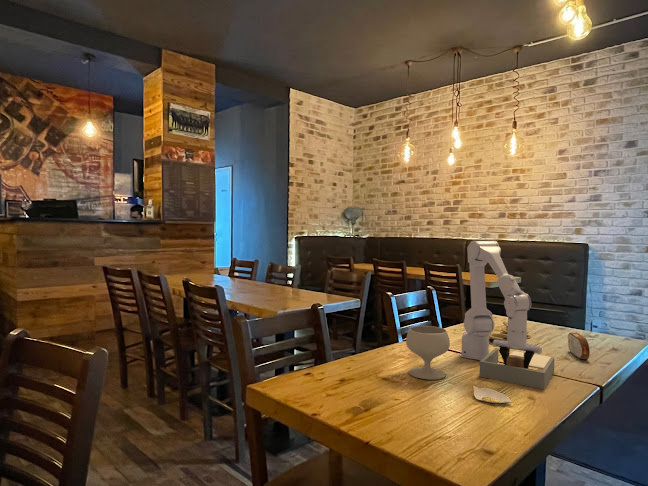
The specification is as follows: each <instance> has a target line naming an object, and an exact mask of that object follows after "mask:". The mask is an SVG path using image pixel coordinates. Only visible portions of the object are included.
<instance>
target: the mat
mask: <svg viewBox="0 0 648 486" xmlns="http://www.w3.org/2000/svg"><path fill="white" fill-rule="evenodd" d="M524 353H525V352H524V351H523V352H522V351H518V350H513V351H512V352H511V353H509V355H515V356H521V357H524ZM551 357H552V356H548V355H541V354H537V353H536V354H535V353H534V355H533V357H532V359H531V361H530V364H529V367H531V368H537V369H541V370H543V368H544V367H545V365H546V364H547V362H548V361H549V359H550V358H551Z"/></svg>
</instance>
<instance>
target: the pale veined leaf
mask: <svg viewBox="0 0 648 486" xmlns="http://www.w3.org/2000/svg"><path fill="white" fill-rule="evenodd" d="M473 395H474V397H475V399H476V400H479V401H483V402H487V403H489V401H487V400H485V399H484V400H483V398H491V399H492V400H498V401H497V402H496V401H490V403H493V404H513V403H514V402H513V401H511V399H510V398H509V397H508V396H507V395H506V394H504V393H502V392H499V391H497V390H495V389H493V388H488V387H477V386H475V385H473Z"/></svg>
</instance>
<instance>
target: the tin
mask: <svg viewBox="0 0 648 486" xmlns="http://www.w3.org/2000/svg"><path fill="white" fill-rule="evenodd" d="M567 344H568V345H567V347H568V350H569V352H570V353H571V355H573V356H575V357H576V358H577V359H578V360H589V358H590V356H591V355H590V353H591V351H590V345H589V342H588V339H587V338H586V337H585V336H583V335H582V334H580V333H579V332H569V333H568V335H567Z"/></svg>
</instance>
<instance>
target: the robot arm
mask: <svg viewBox="0 0 648 486" xmlns="http://www.w3.org/2000/svg"><path fill="white" fill-rule="evenodd" d="M501 251H502V249H501V247H500V245H499V242H498V241H496V240H472V241H470V242H469V244H468V245H467V263H468V264H469V282H470V283H469V284H470V286H469V287H470V302H471V303H470V304H471V305H470V306H471V307H470V308H469V309H468V310H467V311H466V312H464V320H463V328H464V330H465V331H464V332H463V333H462V336H461V355H460V357H461V358H466V359H471V360H478V361H481V360H482V359H483V358H484V357H486V356H487V355H488V354H489V353H490V344H489V335H491V333H493V331H494V329H495V325H496V324H495V321H494V317H493V313H492V312H491V310H489V309H488V308H487V296H486V295H487V294H486V292H487V291H486V278H485V277H486V276H485V273H486V272H485V266H486V265H488V264H489V266H490V267H491V269H492V270H493V272H494V274H495V275H496V277H497V278H498V279H497V280H496V284H497V286H498V288H499V290H500V291H501V294H502V295H503V297H504V301H503V305H504V306H503V307H504V309H505V311H506V312H505V314H506V316H507V323H508V335H507V341H501V340H494V341H493V345H492V347H494V348H497V347H498V348H499V355H500V357H501V358H502V361H503V365H507V357H508V356H509V355H510V351H511V350H514V351H521V352H522V351H523V353H524V368H525V369H529V367H530V366H529V364H530V361H531V359H532V357H533V355H534V354H535V353H536V355H541V354H542V353H543V352H542V351H543V347H542V346H539V345H535V344H530V343H527V339H526V338H527V330H528V325H527V324H528V311H530V309H531V308H532V300H531V299H532V298H531V297H530V295H529V294H528V293H525V292H524V291H523V290H522V289H521V287H520V286H519V284H518V282H517V280H516V278H515V276H514V275H512V274H509V272H508V270H507V268H506V266H505V264H504V261H503V260H502V259H503V258H502V257H501Z"/></svg>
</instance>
